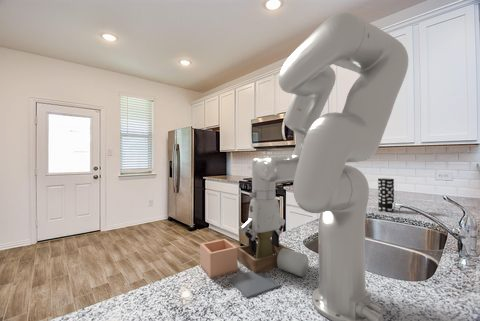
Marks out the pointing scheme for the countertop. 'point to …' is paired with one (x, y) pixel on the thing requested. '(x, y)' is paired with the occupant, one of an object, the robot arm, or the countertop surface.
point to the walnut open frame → (262, 263)
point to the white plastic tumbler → (292, 262)
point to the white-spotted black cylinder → (385, 194)
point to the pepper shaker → (264, 245)
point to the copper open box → (218, 258)
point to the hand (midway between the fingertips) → (264, 248)
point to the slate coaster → (253, 283)
